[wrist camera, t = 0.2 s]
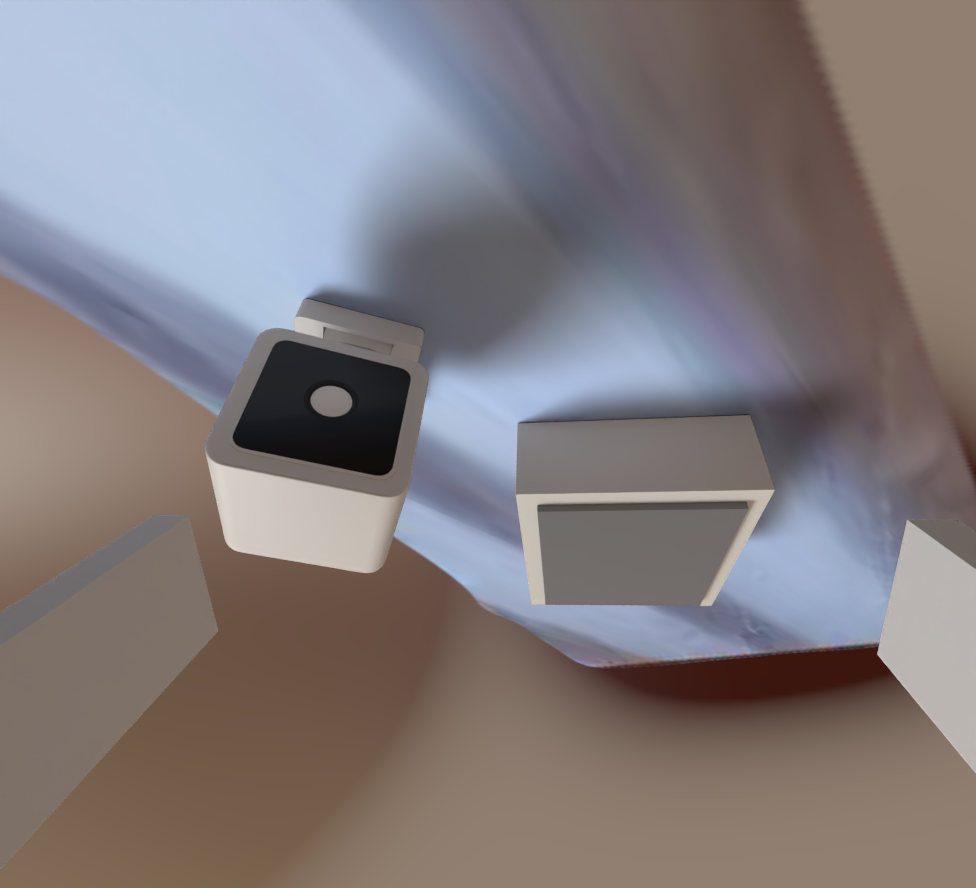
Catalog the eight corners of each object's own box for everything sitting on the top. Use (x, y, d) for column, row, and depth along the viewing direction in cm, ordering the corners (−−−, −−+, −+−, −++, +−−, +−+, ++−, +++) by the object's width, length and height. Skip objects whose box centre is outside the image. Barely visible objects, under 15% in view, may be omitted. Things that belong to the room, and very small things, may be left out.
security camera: (441, 305, 23) (407, 500, 17) (413, 407, 28) (379, 584, 22) (292, 264, 22) (195, 458, 16) (292, 379, 27) (220, 558, 21)
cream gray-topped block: (517, 423, 29) (515, 501, 26) (749, 415, 27) (777, 496, 24) (531, 544, 40) (531, 609, 36) (698, 543, 38) (712, 611, 35)
